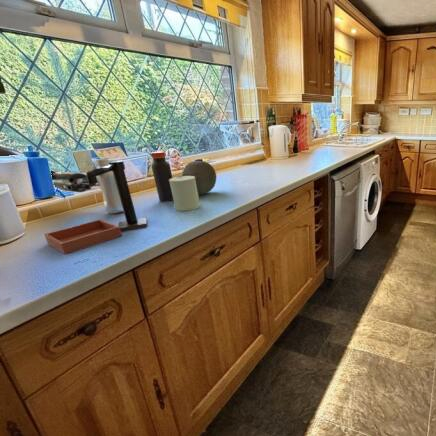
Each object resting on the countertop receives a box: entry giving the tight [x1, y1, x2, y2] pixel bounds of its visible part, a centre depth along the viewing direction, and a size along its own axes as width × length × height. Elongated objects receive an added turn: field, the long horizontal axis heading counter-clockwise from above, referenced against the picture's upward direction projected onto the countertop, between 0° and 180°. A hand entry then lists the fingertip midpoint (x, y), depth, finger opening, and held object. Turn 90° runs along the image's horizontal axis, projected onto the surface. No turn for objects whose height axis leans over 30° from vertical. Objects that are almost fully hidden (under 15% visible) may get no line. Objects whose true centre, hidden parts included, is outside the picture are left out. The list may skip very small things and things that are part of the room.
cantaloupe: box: [181, 160, 217, 196], centre depth 133 cm, size 14×14×15 cm
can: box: [169, 175, 201, 212], centre depth 116 cm, size 9×9×12 cm
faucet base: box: [113, 170, 148, 232], centre depth 97 cm, size 8×7×19 cm
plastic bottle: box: [95, 158, 124, 214], centre depth 111 cm, size 6×7×20 cm
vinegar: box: [150, 151, 174, 202], centre depth 126 cm, size 7×7×20 cm
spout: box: [85, 160, 126, 184], centre depth 87 cm, size 16×4×4 cm, turn 8°
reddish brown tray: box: [44, 219, 123, 255], centre depth 89 cm, size 14×13×3 cm
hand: (101, 184), depth 112 cm, fingers open, 8 cm apart
